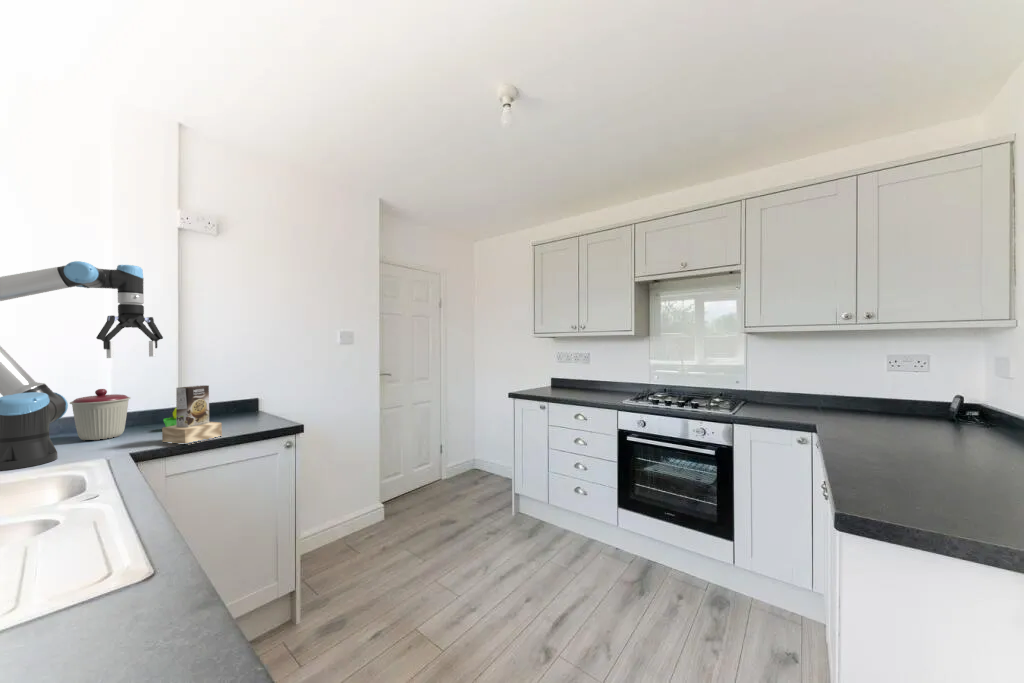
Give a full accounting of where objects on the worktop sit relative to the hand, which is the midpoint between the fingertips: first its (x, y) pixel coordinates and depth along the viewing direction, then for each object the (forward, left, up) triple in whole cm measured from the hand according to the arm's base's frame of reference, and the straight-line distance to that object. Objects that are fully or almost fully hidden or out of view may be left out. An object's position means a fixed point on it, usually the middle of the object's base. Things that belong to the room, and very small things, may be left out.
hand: (131, 357), depth 158 cm
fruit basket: (+24, +13, -35) cm, 44 cm away
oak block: (+12, -16, -35) cm, 40 cm away
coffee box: (+12, -16, -29) cm, 35 cm away
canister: (+2, +26, -35) cm, 44 cm away
